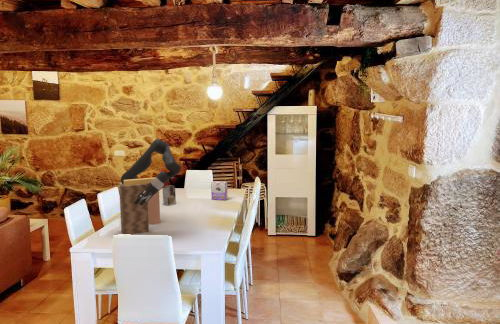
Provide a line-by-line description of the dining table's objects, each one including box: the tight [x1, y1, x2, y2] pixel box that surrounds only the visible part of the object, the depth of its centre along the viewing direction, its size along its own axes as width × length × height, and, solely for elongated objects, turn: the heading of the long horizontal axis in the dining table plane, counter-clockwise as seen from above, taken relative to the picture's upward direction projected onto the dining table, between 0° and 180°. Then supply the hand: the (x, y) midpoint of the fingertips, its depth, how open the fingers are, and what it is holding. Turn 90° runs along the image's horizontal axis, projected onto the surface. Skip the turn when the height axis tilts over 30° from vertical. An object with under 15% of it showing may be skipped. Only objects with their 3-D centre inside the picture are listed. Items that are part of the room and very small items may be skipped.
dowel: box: [124, 177, 155, 185], centre depth 254 cm, size 22×4×3 cm, turn 117°
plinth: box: [118, 183, 150, 235], centre depth 254 cm, size 16×10×32 cm, turn 117°
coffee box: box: [162, 184, 177, 207], centre depth 329 cm, size 9×6×16 cm
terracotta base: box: [148, 190, 161, 226], centre depth 275 cm, size 9×9×24 cm
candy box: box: [210, 180, 229, 201], centre depth 346 cm, size 14×6×16 cm, turn 76°
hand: (137, 204), depth 244 cm, fingers open, 8 cm apart
